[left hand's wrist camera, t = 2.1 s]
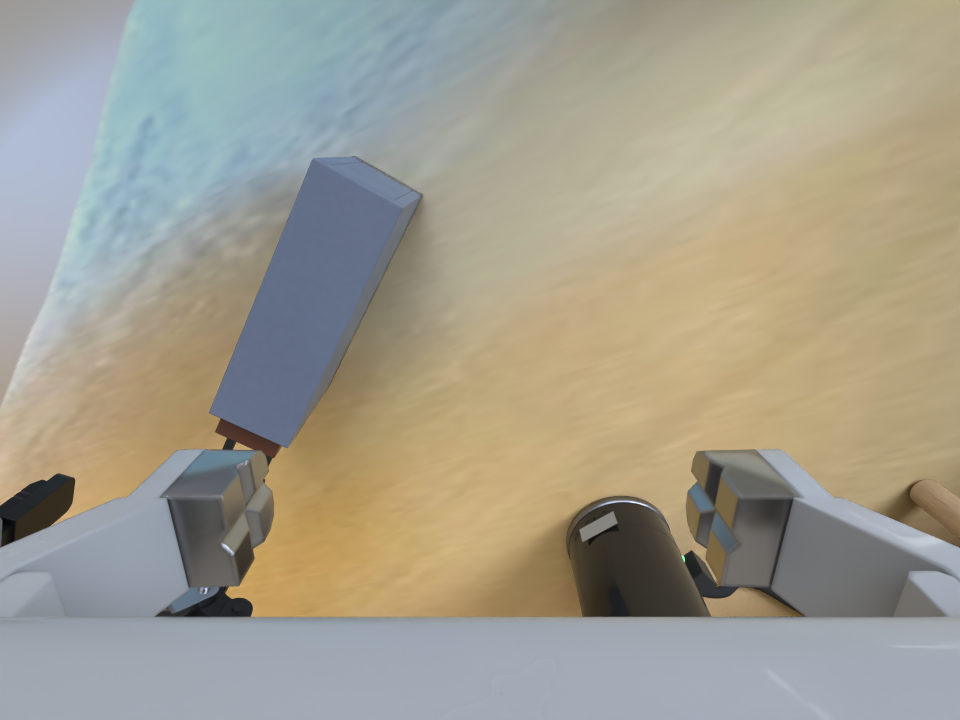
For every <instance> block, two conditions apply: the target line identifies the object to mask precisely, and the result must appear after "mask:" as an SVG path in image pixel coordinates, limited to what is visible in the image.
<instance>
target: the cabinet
mask: <svg viewBox="0 0 960 720" xmlns="http://www.w3.org/2000/svg"><path fill="white" fill-rule="evenodd" d="M422 196H423V194H421V193H419V192H418V191H416V190H414V189H412V188H411V187H409V186H407V185H405V184H403V183H402V182H400V181H398V180H396V179H395V178H393V177H391V176H389V175H387V174H386V173H384V172H382V171H380V170H379V169H377V168H375V167H373V166H372V165H370V164H368V163H366V162H364V161H363V160H361V159H359V158H357V157H356V156H352V157H334V158H313V159H312V161H311V164H310V166H309V169H308V171H307V174H306V176H305V179H304V181H303V184H302V186H301V188H300V191H299V193H298V196H297V198H296V201H295V203H294V206H293V208H292V210H291V213H290V215H289V218H288V220H287V223H286V225H285V228H284V230H283V233H282V235H281V237H280V240H279V242H278V245H277V247H276V250H275V252H274V255H273V257H272V260H271V262H270V264H269V267H268V269H267V272H266V274H265V277H264V279H263V282H262V284H261V286H260V289H259V291H258V294H257V296H256V299H255V301H254V304H253V306H252V309H251V311H250V313H249V316H248V318H247V321H246V323H245V326H244V328H243V331H242V333H241V336H240V338H239V340H238V343H237V345H236V348H235V350H234V353H233V355H232V358H231V360H230V362H229V365H228V367H227V370H226V372H225V375H224V377H223V380H222V382H221V385H220V387H219V389H218V392H217V394H216V397H215V399H214V402H213V404H212V407H211V409H210V412H209V413H210V414H212V415H215V416H217V417H219V418H221V419H224V420H226V421H228V422H230V423H232V424H235V425H237V426H239V427H241V428H243V429H246V430H248V431H250V432H252V433H254V434H257V435H259V436H261V437H263V438H266V439H268V440H270V441H272V442H274V443H277V444H279V445H281V446H283V447H285V448H288V447H289V445H290V444H291V442H292V441H293V440H294V438H295V436H296V435H297V433H298V432H299V430H300V429H301V427H302V426H303V424H304V423H305V421H306V420H307V418H308V417H309V415H310V414H311V412H312V411H313V409H314V408H315V406H316V405H317V403H318V402H319V400H320V399H321V397H322V396H323V394H324V393H325V391H326V390H327V389H328V387H329V386H330V384H331V382H332V379H333V377H334V375H335V373H336V371H337V369H338V367H339V365H340V363H341V361H342V359H343V357H344V355H345V353H346V351H347V349H348V347H349V345H350V343H351V341H352V339H353V337H354V335H355V333H356V331H357V328H358V326H359V324H360V322H361V320H362V318H363V316H364V314H365V312H366V310H367V308H368V306H369V304H370V302H371V300H372V298H373V296H374V294H375V292H376V290H377V288H378V286H379V284H380V282H381V280H382V278H383V275H384V273H385V271H386V269H387V267H388V265H389V263H390V261H391V259H392V257H393V255H394V253H395V251H396V249H397V247H398V245H399V243H400V241H401V239H402V237H403V235H404V233H405V231H406V229H407V227H408V224H409V222H410V220H411V218H412V216H413V214H414V212H415V210H416V208H417V206H418V204H419V202H420V200H421V198H422Z"/></svg>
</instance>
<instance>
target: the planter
mask: <svg viewBox="0 0 960 720" xmlns="http://www.w3.org/2000/svg"><path fill="white" fill-rule="evenodd" d="M910 498H911V499H912V501H914V502H915V503H916V504H917V505H919V506H920V507H921V508H922V509H924V510H925V511H926V512H927V513H928V514H930V515H931V516H932V517H933V518H935V519H936V520H937V521H938V522H940V523H941V524H942V525H943V526H945V527H946V528H947V529H948V530H950V531H951V532H952V533H953V534H954V535H956V536H957V537H958V538H959V539H960V499H959V498H958V497H956V496H955V495H954V494H952V493H951V492H949V491H948V490H947V489H945V488H944V487H943V486H941V485H940V484H938V483H937V482H936V481H934V480H922V481H920V482H918V483H916V484H915V485H914V486H913V487H912V489H911V491H910Z"/></svg>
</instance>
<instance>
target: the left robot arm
mask: <svg viewBox="0 0 960 720" xmlns="http://www.w3.org/2000/svg"><path fill="white" fill-rule="evenodd" d="M268 472H269V469H268V464H267V459H266V455H265V454H264V453H263V452H262V451H261V450H214V449H210V450H207V449H183V450H177V451H175V452H174V453H173V454H172V455H171V456H170V457H169V458H168V459H167V460H166V461H165V462H164V463H163V464H162V465H161V466H160V467H159V468H158V469H156V470H155V471H154V472H153V473H152V474H151V475H150V476H149V477H148V478H147V479H146V480H145V481H144V482H143V483H142V484H141V485H140V486H139V487H138V488H136V489H135V490H134V491H133V492H132V493H131V494H130V495H129V496H128V497H127V498H116V499H114V500H111V501H109V502H107V503H104V504H102V505H99V506H97V507H95V508H92V509H90V510H88V511H85V512H83V513H81V514H78V515H76V516H74V517H71V518H69V519H66V520H64V521H62V522H59V523H57V524H55V525H52V526H50V527H48V528H45V529H43V530H41V531H38V532H36V533H34V534H31V535H29V536H26V537H24V538H22V539H19V540H17V541H15V542H12V543H10V544H8V545H5V546H3V547H1V548H0V720H960V548H959V547H957V546H954V545H952V544H950V543H947V542H945V541H943V540H940V539H938V538H936V537H933V536H931V535H929V534H926V533H924V532H922V531H919V530H917V529H915V528H912V527H910V526H907V525H905V524H903V523H900V522H898V521H896V520H893V519H891V518H889V517H886V516H884V515H882V514H879V513H877V512H875V511H872V510H870V509H868V508H865V507H863V506H860V505H858V504H856V503H853V502H851V501H849V500H846V499H844V498H833V497H832V496H831V495H830V494H829V493H828V492H827V491H826V490H825V489H824V488H823V487H822V486H820V485H819V484H818V483H817V482H816V481H815V480H814V479H813V478H812V477H811V476H810V475H809V474H808V473H807V472H806V471H805V470H804V469H803V468H802V467H800V466H799V465H798V464H797V463H796V462H795V461H794V460H793V459H792V458H791V457H790V456H789V455H788V454H787V453H786V452H785V451H782V450H779V449H760V450H716V451H697V452H696V454H695V456H694V459H693V463H692V468H691V472H692V473H693V475H694V476H695V478H696V479H697V482H696V483H695V484H694V485H693V486H692V487H691V488H690V490H689V491H688V493H687V501H686V514H687V522H688V526H689V529H690V532H691V534H692V536H693V537H694V539H695V541H696V542H697V543H699V544H700V545H702V546H703V547H705V548H707V552H706V558H705V559H706V561H707V563H708V564H709V566H710V568H711V569H712V571H713V573H714V575H715V576H716V578H717V580H718V582H719V583H720V585H721V586H731V587H768V588H771V590H772V591H773V592H774V593H776V594H777V595H778V596H779V597H781V598H782V599H783V600H785V601H786V602H787V603H789V604H790V605H791V606H793V607H794V608H795V609H796V610H798V611H799V612H800V613H802V614H803V615H804V616H806V617H155V616H156V615H157V614H159V613H160V612H161V611H162V610H164V609H165V608H166V607H168V606H169V605H170V604H172V603H173V602H174V601H175V600H177V599H178V598H179V597H181V596H182V595H183V594H185V593H186V592H187V591H189V588H192V587H228V586H239V585H240V584H241V582H242V580H243V578H244V577H245V575H246V573H247V571H248V570H249V568H250V566H251V564H252V563H253V561H254V559H255V558H254V552H253V548H255V547H257V546H258V545H260V544H261V543H263V542H264V541H265V539H266V537H267V536H268V534H269V532H270V529H271V525H272V521H273V517H274V500H273V493H272V491H271V490H270V488H269V487H268V486H267V485H266V484H265V483H264V482H263V479H264V478H265V476H266V475H267V473H268Z"/></svg>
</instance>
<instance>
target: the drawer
mask: <svg viewBox="0 0 960 720" xmlns="http://www.w3.org/2000/svg"><path fill="white" fill-rule="evenodd" d="M215 432H216V433H218V434H220V435H222V436H225V437H227V439H226V442H225V444H224V446H223V449H222V450H233V448H234V446H235V444H236V442H238V443H240V444H243V445H245V446H247V447H249V448H252V449H254V450H261V451H262V452H263V453H264V454H265V455H266V459H267V464H268V467H269V464H270V462H271V460H272V458H274V457H275V456H276V455H277V453H278V452H279V450H280V449H281V447H282V446H281V445H279V444H277V443H274V442H272V441H270V440H268V439H266V438H263V437H261V436H259V435H257V434H254V433H252V432H250V431H248V430H246V429H243V428H241V427H239V426H237V425H235V424H232V423H230V422H228V421H226V420H224V419H220V422H219V424H218V426H217V429H216V431H215ZM263 482H264V483H265V479H263Z"/></svg>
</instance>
